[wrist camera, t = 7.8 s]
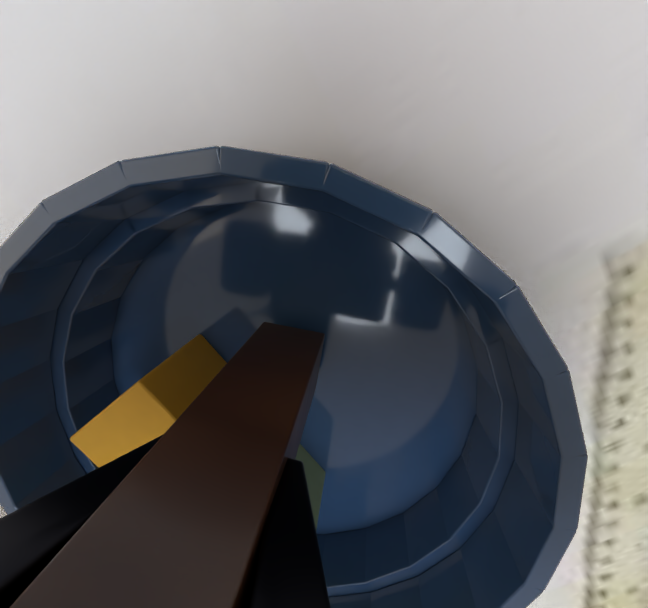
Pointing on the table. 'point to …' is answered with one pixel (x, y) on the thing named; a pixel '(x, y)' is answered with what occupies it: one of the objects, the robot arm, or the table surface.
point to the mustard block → (150, 403)
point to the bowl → (335, 365)
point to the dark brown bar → (195, 492)
